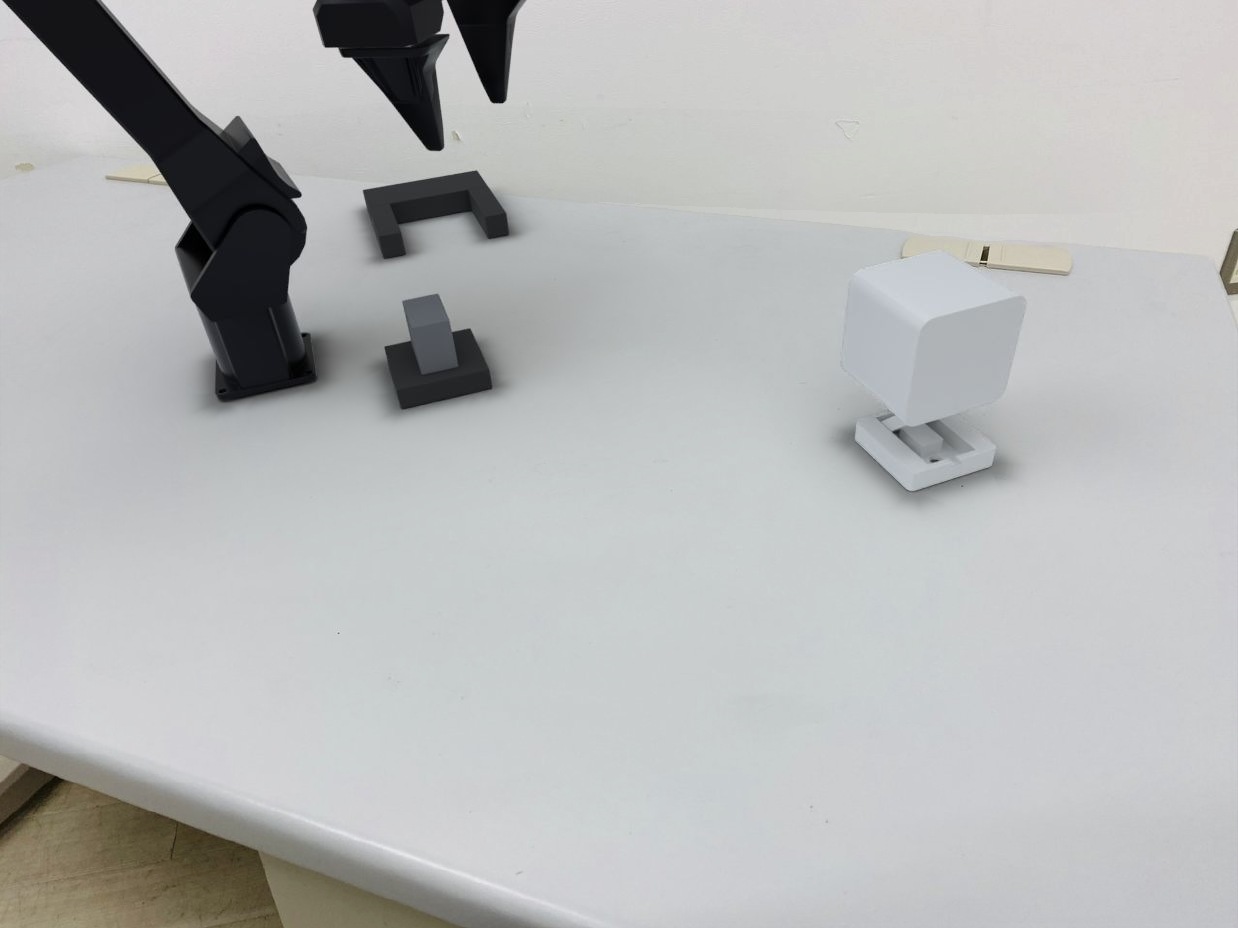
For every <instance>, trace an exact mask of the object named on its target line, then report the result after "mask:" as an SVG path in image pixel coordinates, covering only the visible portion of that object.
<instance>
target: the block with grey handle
mask: <svg viewBox="0 0 1238 928" xmlns="http://www.w3.org/2000/svg"><path fill="white" fill-rule="evenodd" d="M401 303H402V307H403V311H404V315H405V320H406V324H407V329H408V333H409V339H410V340H408V341H407V340H406V341H403V342H399V343H393V344H388V345H384V348H383V349H384V352H385V356H386V357H385V358H386V360H387V365H388V368H389V371H390V375H391V378H392V383H393V386H394V389H395V393H396V396H397V397H396V398H397V400H398V403H399V404H398V405H399V407H400V409H402V410H403V409H407V408H412V407H416V406H421V405H424V404H425V405H426V404H429V403H434V402H439V401H443V400H447V399H451V398H457V397H460V396H464V395H468V394H473V393H477V392H482V391H485V390H489V389H492V388H493V382H492V376H491V371H490V367H489V366H488V364H487V361H486V359H485V357H484V355H483V353H482V350H481V348H480V346H479V344H478V342H477V340H476V337H475V335H474V333H473V330H472V329H471V328H470V327H468V328H464V329H459V330H454V331H453V330H452V326H451V320H450V318H449V316H448V312H447V311H446V308H445V306H444V304H443V301H442V299H441V297H440V295H439V293H434V294H428V295H424V296H419V297H413V298H409V299H404V300H402V301H401Z"/></svg>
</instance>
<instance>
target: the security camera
mask: <svg viewBox="0 0 1238 928" xmlns="http://www.w3.org/2000/svg"><path fill="white" fill-rule="evenodd" d="M1027 304H1028V303H1027V299H1026V297H1025V296H1024V295H1022V294H1021V293H1019V292H1017V291H1015V290H1014V289H1012V288H1011V287H1009V286H1007V285H1005V284H1004V283H1002V282H1000V281H998V280H996V279H995V278H993V277H991V276H989V275H988V274H986V273H984V272H983V271H981V270H979V269H977V267H974V266H972V265H971V264H969V263H967V262H966V261H963V259H960V258H959V257H957V256H956V255H954V254H951V253H950V252H949V251H946V250H945V249H937V250H933V251H929V252H924V253H921V254H916V255H913V256H907V257H904V258H903V257H902V258H900V259H896V260H891V261H887V262H883V263H879V264H875V265H870V266H866V267H862V268H860V269H858V270H856V271H855V272H854V273H853V274H852V276H851V277H850V279H849V281H848V286H847V293H846V304H845V314H844V321H843V330H842V331H843V332H842V339H841V340H842V341H841V348H840V349H841V350H840V359H839V367H840V368H841V370H842V371H843V372H844V373H845V374H847V375H848V376H849V377H851V378H852V380H854V381H855V382H857V384H858V385H860V386H861V387H862V388H864V390H866V391H867V392H868V393H869V394H870V395H872V396H873V397H874V398H875V399H876V400H877V401H879V402H880V404H882V405H883V406H884V407H885V408H887V409H888V411H887V410H886V411H884V412H880V413H877V414H873V415H870V416H866V417H863V418H860V419H857V420H856V426H855V433H854V441H855V442H856V443H857V444H858V445H859V446H860V447H861V448H862V449H864V450H865V452H867V453H868V454H869V456H871V457H872V458H873V459H874V460H875V461H876V462H877V463H878V464H879V465H880V466H881V467H882V468H883V469H884V470H885V471H886V472H887V473H888V474H890V475H891V476H892V477H893V478H894V479H895V480H896V481H897V482H898V483H899V484H900V485H902V487H903V488H904V489H906V490H907V491H909V492H916V491H919V490H921V489H922V490H923V489H925V488H929V487H932V486H935V485H938V484H941V483H943V482H946V481H950V480H953V479H957V478H960V477H963V476H966V475H970V474H972V473H976V472H979V471H981V470H985V469H987V468H991V467H992V466H993V462H994V459H995V455H996V451H997V445H996V443H994V442H993V441H991V440H990V439H989V438H987V437H986V436H985V435H984V434H982V433H981V432H980V431H978V429H976V428H975V427H973V426H972V425H971V424H970V423H969V422H967V421H966V420H965V419H963V418H962V417H961V416H960V415H958V414H961V413H964V412H968V411H971V410H974V409H978V408H981V407H985V406H987V405H991V404H994V403H996V402H997V401H998V400H1000V399H1001V398H1002V396H1004V394H1005V392H1006V391H1007V386H1008V382H1009V378H1010V374H1011V370H1012V366H1013V362H1014V358H1015V355H1016V351H1017V346H1018V342H1019V339H1020V333H1021V330H1022V327H1023V326H1022V325H1023V323H1024V317H1025V314H1026V310H1027V309H1026V308H1027ZM931 461H934V462H931Z"/></svg>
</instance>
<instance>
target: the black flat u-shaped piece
mask: <svg viewBox="0 0 1238 928" xmlns="http://www.w3.org/2000/svg"><path fill="white" fill-rule="evenodd" d="M362 194H363V198H364V202H365V206H366V210H367V212H368V213H367V214H368V216H369V219H370V222H371V226H372V229H373V231H374V235H375V237H376V240H377V243H378V246H379V249H380V252H381V255H382V258H383V259H388V258H394V257H398V256H404V255H407V253H406V248H405V244H404V239H403V235H402V231H401V228H400V226H399V224H402V223H409V222H413V221H419V220H424V219H425V220H426V219H430V218H436V217H441V216H447V215H452V214H458V213H463V212H468V211H469V212H470V211H471V212H472V214H473V215H474V217H475V218H476V221H477V222H478V224H479V225H480V227H481V228H482V230H483V232H484V234H485V235H486V237H487V238H488V239H494V238H498V237H504V236H509V235H510V229H509V223H508V216H507V212H506V211H505V209H504V207H503V206H502V205H501V203H500V201H499V200H498V199H497V197H496V196H495V194H494V193H493V191H492V190H491V188H490V187H489V186H488V184H487V182H486V181H485V179H484V178H483V177H482V175H481V174H480V172H479V170H477V169H476V170H470V171H463V172H459V173H453V174H447V175H442V176H435V177H429V178H423V179H417V180H413V181H407V182H406V181H405V182H400V183H395V184H389V185H384V186H383V185H382V186H378V187H372V188H366V189H362Z"/></svg>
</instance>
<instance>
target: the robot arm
mask: <svg viewBox="0 0 1238 928" xmlns="http://www.w3.org/2000/svg"><path fill="white" fill-rule="evenodd" d="M1 1H2V2H3V3H4V4H5V5H6V6H7V7H8V8H9V9H10V10H11V12H13V14H15V15H16V17H17V18H18V19H19V20H20V21H21V22H22V23H23V25H25V26H26V27H27V28H28V29H29V31H31V33H32V34H33V35H34V36H35V37H36V38H37V39H38V40H39V41H40V42H41V43H42V44H43V45H44V47H45V48H46V49H47V50H48V51H49V52H50V53H51V54H52V55H53V56H54V57H55V58H56V60H58V61H59V62H60V63H61V64H62V66H64V68H66V70H67V71H68V72H69V73H70V74H71V75H72V76H73V77H74V78H75V79H76V80H77V81H78V83H80V84H81V86H82V87H83V88H84V89H85V90H86V91H87V92H88V93H89V94H90V95H91V96H92V97H93V98H94V99H95V101H96V102H97V103H99V104H100V106H101V107H102V108H103V109H104V110H105V111H106V112H107V113H108V114H109V115H110V116H111V117H112V119H114V121H115V122H117V124H118V125H119V126H121V128H122V129H123V130H124V131H125V132H126V133H127V135H129V136H130V138H131V139H132V140H133V141H135V143H136V144H137V145H138V146H139V147H140V148H141V149H142V150H143V151H144V152H145V153H146V154H147V156H148V157H149V158H150V159H151V161H152V162H153V164H154V165H155V167H156V169H157V170H158V172H159V173H160V175H161V176H162V178H163V179H164V181H165V182H166V184H167V186H168V187H169V189H170V191H171V192H172V193H173V195H174V196H175V198H176V199H177V201H178V203H179V204H180V206H181V208H182V209H183V211H184V212H185V214H186V215H187V217H188V218H189V219H190V221H189V222H188V224H187V226H186V228H185V230H184V231H183V232H182V234H181V236H180V237H179V239H178V241H177V242H176V244H175V246H174V252H175V256H176V258H177V262H178V265H179V267H180V270H181V274H182V277H183V279H184V282H185V286H186V288H187V291H188V295H189V297H190V300H191V301H192V302H193V303H194V305H195V308H196V310H197V312H198V316H199V318H200V321H201V323H202V326H203V328H204V331H205V333H206V336H207V339H208V340H209V344H210V346H211V347H210V348H211V349H212V351H213V354H214V357H215V373H214V374H215V376H214V394H215V396H216V399H217V400H219V401H226V400H230V399H231V400H232V399H235V398H240V397H244V396H249V395H253V394H258V393H263V392H267V391H271V390H277V389H281V388H285V387H290V386H295V385H299V384H303V383H309V382H312V381H315V380H316V379H317V378H318V371H317V364H316V358H315V350H314V345H313V339H312V336H311V335H312V334H311V333H310V332H306V331H305V332H301V329H300V326H299V322H298V320H297V317H296V314H295V310H294V307H293V304H292V300H291V298H290V294H289V286H290V285H289V284H290V273H291V267H292V266H293V264H294V263H296V262H297V260H298V259H300V257H301V255H302V253H303V251H304V249H305V246H306V242H307V232H308V224H307V220H306V217H305V216H304V214H303V213H302V211H301V210H300V208H299V206H298V204H297V203H296V201H295V200H294V199H300V198H302V196H303V193H302V192H301V191H300V189H299V187H298V186H297V185H296V183H295V182H294V181H293V179H292V178H291V177H290V175H289V174H288V172H287V171H286V170H285V168H284V167H283V166H282V164H281V163H280V162H279V161H277V160H275V159H274V158H272V157H270V156H268V155H267V154H266V153H265V152H264V150H263V148H262V146H261V144H260V143H259V141H258V140H257V139H256V137H255V136H254V134H253V133H252V131H251V130H250V129H249V127H248V126H247V124H246V123H245V121H244V120H243V119H242V117H241V116H240V115H235V116H234V118H232V120H230V122H229V123H228V124H227V125H226V127H225V128H224V129H223V128H222V127H220V126H219V125H218V124H216V122H214V121H213V120H211V119H210V118H208V117H207V116H206V115H205V114H204V113H202V112H201V111H200V110H199V109H197V108H196V107H195V106H194V105H193V104H192V103H191V102H190V101H189V100H188V99H187V98H186V96H184V94H183V93H182V92H181V91H180V90H179V88H178V87H177V86H176V85H175V83H173V82H172V80H171V79H170V78H169V77H168V75H166V73H165V72H164V71H163V70H162V69H161V68H160V66H159V65H158V64H157V63H156V62H155V61H154V60H153V58H152V57H151V56H150V55H149V54H148V52H146V50H145V49H144V48H143V47H142V45H140V43H139V42H138V41H137V39H135V37H134V36H133V35H132V34H131V32H129V31H128V29H127V28H126V27H125V26H124V25H123V23H122V22H121V21H120V20H119V18H117V17H116V15H115V14H114V13H113V12H112V11H111V10H110V9H109V7H108V6H107V5H106V4H105V3H104V2H103V1H102V0H1ZM526 2H527V0H446V3H447V5H448V7H449V10H450V13H451V15H452V17H453V19H454V21H455V24H456V26H457V28H458V31H459V33H460V36H461V38H462V41H463V43H464V46H465V48H466V50H467V53H468V55H469V57H470V59H471V61H472V64H473V68H474V69H475V71H476V74H477V76H478V78H479V81H480V84H481V85H482V87H483V89H484V91H485V94H486V95H487V97H488V99H489V101H490V103H491V104H494V105H495V104H500V105H501V104H504V103H506V102H507V100H508V90H509V82H510V71H511V64H512V63H511V62H512V51H513V43H514V35H515V34H514V33H515V27H516V20H517V16H518V13H519V11H520V10H521V8H522V7H523V6H524V4H526ZM312 13H313V16H314V19H315V24H316V27H317V31H318V35H319V38H320V41H321V45H322V47H324V48H325V49H338V52H339V54H340V57H342V58H344V59H352V60H353V61H354V62H355V63H356V64H357V66H358V67H359V68H360V69H361V70H362V71H363V72H364V73H365V74H366V75H367V77H368V78H369V79H370V80H371V81H372V82H373V83H374V84H375V86H376V87H378V89H379V90H380V91H381V92H382V94H383V95H384V96H385V97H386V99H387V100H388V102H389V103H390V104H391V105H392V106H393V107H394V109H395V111H396V112H397V113H398V114H399V115H400V117H401V119H403V121H404V122H405V123H406V124H407V126H408V127H409V128H410V130H411V131H412V133H414V135H415V136H416V138H418V140H419V141H420V142H421V144H422V145H423V147H424V148H425V149H426V150H427V151H429V152H441V151H443V150H444V149H445V132H444V131H445V130H444V121H443V114H442V107H441V106H442V105H441V98H440V91H439V83H438V73H437V68H436V67H437V65H436V64H437V61H438V59H439V57H440V56H441V54H442V52H443V50H444V48H445V46H446V45H447V43H448V41H449V40H450V36H451V34H450V33H440V32H441V31H442V27H443V21H444V15H445V10H444V5H443V0H316V1H315V3H314V5H313V8H312Z"/></svg>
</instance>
